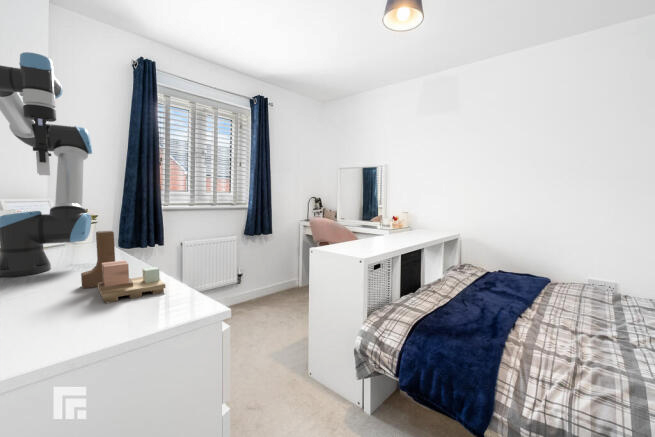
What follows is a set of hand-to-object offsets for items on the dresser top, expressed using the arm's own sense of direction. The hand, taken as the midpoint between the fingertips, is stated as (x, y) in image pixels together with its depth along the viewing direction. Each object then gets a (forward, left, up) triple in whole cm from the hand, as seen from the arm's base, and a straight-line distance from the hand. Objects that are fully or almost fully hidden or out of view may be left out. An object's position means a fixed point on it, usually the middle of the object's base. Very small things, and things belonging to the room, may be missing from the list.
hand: (44, 174), depth 97 cm
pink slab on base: (+23, +15, -34) cm, 44 cm away
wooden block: (+8, +12, -37) cm, 40 cm away
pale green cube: (+23, +25, -34) cm, 48 cm away
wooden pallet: (+23, +19, -37) cm, 47 cm away
